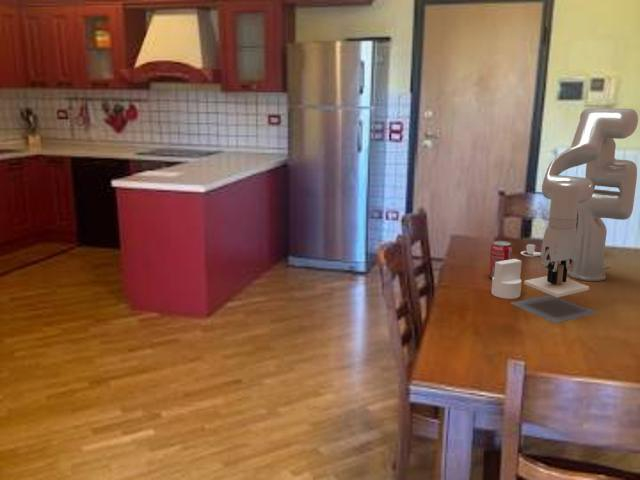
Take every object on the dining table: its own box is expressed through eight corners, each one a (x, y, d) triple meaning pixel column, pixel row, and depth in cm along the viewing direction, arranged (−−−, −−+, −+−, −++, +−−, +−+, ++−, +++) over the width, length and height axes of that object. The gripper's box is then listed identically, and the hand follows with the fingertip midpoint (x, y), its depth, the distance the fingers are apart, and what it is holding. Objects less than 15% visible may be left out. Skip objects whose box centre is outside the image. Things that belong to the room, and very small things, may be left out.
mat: (551, 297, 193) (551, 294, 193) (598, 316, 177) (598, 312, 177) (509, 306, 185) (509, 303, 185) (554, 326, 170) (554, 322, 169)
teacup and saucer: (544, 258, 240) (545, 248, 239) (524, 257, 240) (525, 248, 239) (537, 252, 248) (538, 242, 247) (517, 252, 248) (518, 242, 247)
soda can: (510, 281, 209) (514, 246, 205) (489, 280, 210) (492, 245, 207) (508, 275, 215) (511, 241, 212) (488, 274, 217) (490, 240, 213)
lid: (555, 277, 189) (557, 256, 187) (589, 289, 177) (591, 267, 175) (524, 283, 183) (525, 262, 181) (557, 297, 172) (559, 274, 170)
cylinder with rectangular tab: (505, 303, 188) (508, 267, 185) (485, 294, 195) (487, 259, 193) (526, 299, 192) (529, 263, 189) (505, 290, 200) (508, 256, 197)
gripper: (572, 217, 181) (566, 274, 186) (531, 223, 175) (526, 282, 180) (592, 222, 175) (586, 281, 180) (551, 229, 168) (546, 290, 173)
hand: (556, 281), depth 180 cm, fingers closed on lid, 3 cm apart
